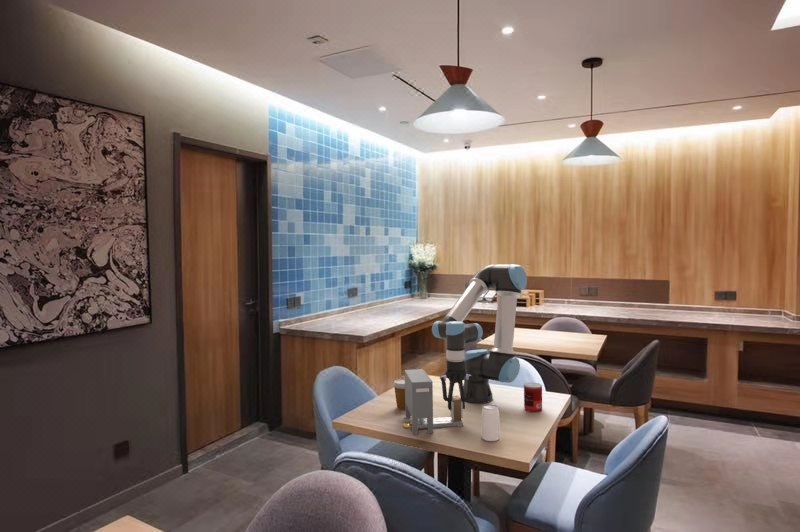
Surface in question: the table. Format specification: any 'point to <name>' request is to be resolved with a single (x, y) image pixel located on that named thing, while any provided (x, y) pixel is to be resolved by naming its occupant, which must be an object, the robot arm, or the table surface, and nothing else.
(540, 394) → the canned food
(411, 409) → the gray cabinet
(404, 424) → the brass token
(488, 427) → the can
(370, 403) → the table surface
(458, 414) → the steel scraper
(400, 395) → the disposable coffee cup
